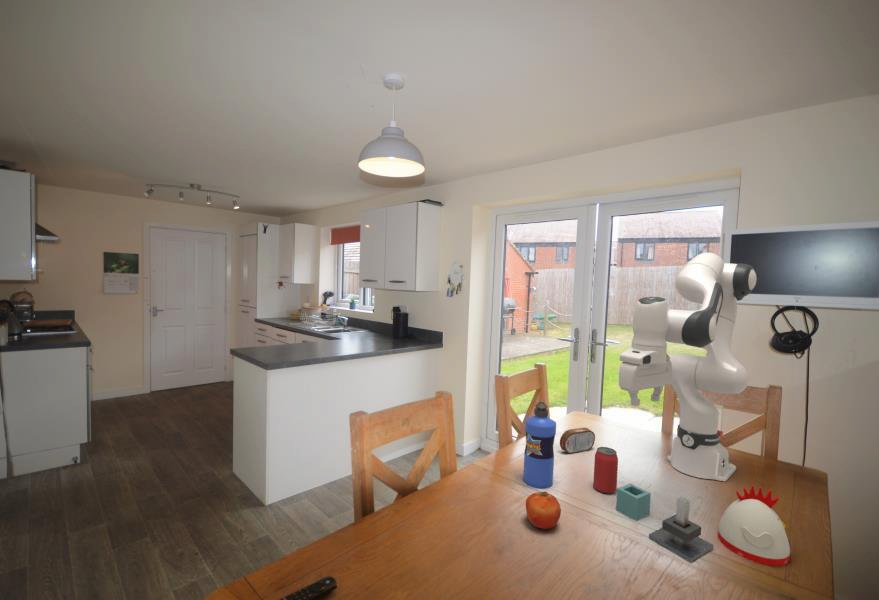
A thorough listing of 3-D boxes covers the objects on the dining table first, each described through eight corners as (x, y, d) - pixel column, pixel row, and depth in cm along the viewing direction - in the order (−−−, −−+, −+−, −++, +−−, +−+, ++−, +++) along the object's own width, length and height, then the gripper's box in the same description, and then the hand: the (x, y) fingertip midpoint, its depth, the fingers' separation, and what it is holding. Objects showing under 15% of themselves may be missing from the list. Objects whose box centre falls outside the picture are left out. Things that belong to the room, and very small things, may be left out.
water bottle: (541, 492, 122) (545, 409, 121) (516, 479, 129) (520, 401, 128) (559, 482, 128) (563, 403, 127) (534, 471, 135) (537, 396, 134)
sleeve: (629, 503, 117) (630, 483, 117) (649, 514, 112) (650, 493, 112) (616, 509, 114) (617, 488, 114) (636, 520, 109) (637, 498, 108)
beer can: (618, 496, 121) (620, 456, 121) (594, 492, 123) (597, 453, 122) (613, 485, 128) (615, 447, 127) (591, 482, 129) (593, 445, 128)
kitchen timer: (794, 574, 90) (800, 508, 90) (719, 551, 98) (723, 489, 97) (783, 541, 102) (787, 482, 101) (716, 522, 109) (720, 467, 109)
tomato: (541, 538, 100) (542, 506, 100) (517, 518, 108) (518, 488, 108) (569, 528, 104) (570, 498, 104) (544, 510, 112) (545, 481, 112)
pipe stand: (671, 526, 107) (674, 485, 106) (713, 548, 98) (716, 504, 98) (648, 538, 101) (651, 494, 101) (690, 562, 93) (694, 515, 92)
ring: (675, 521, 104) (676, 514, 104) (700, 534, 99) (701, 526, 99) (662, 528, 101) (662, 520, 101) (687, 542, 96) (687, 534, 95)
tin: (589, 447, 157) (590, 425, 157) (596, 450, 154) (597, 428, 154) (558, 452, 151) (559, 430, 150) (564, 456, 148) (565, 433, 148)
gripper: (658, 350, 123) (655, 396, 124) (615, 355, 113) (612, 404, 114) (680, 354, 118) (677, 401, 119) (636, 359, 107) (633, 411, 108)
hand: (645, 403), depth 116 cm, fingers open, 8 cm apart
